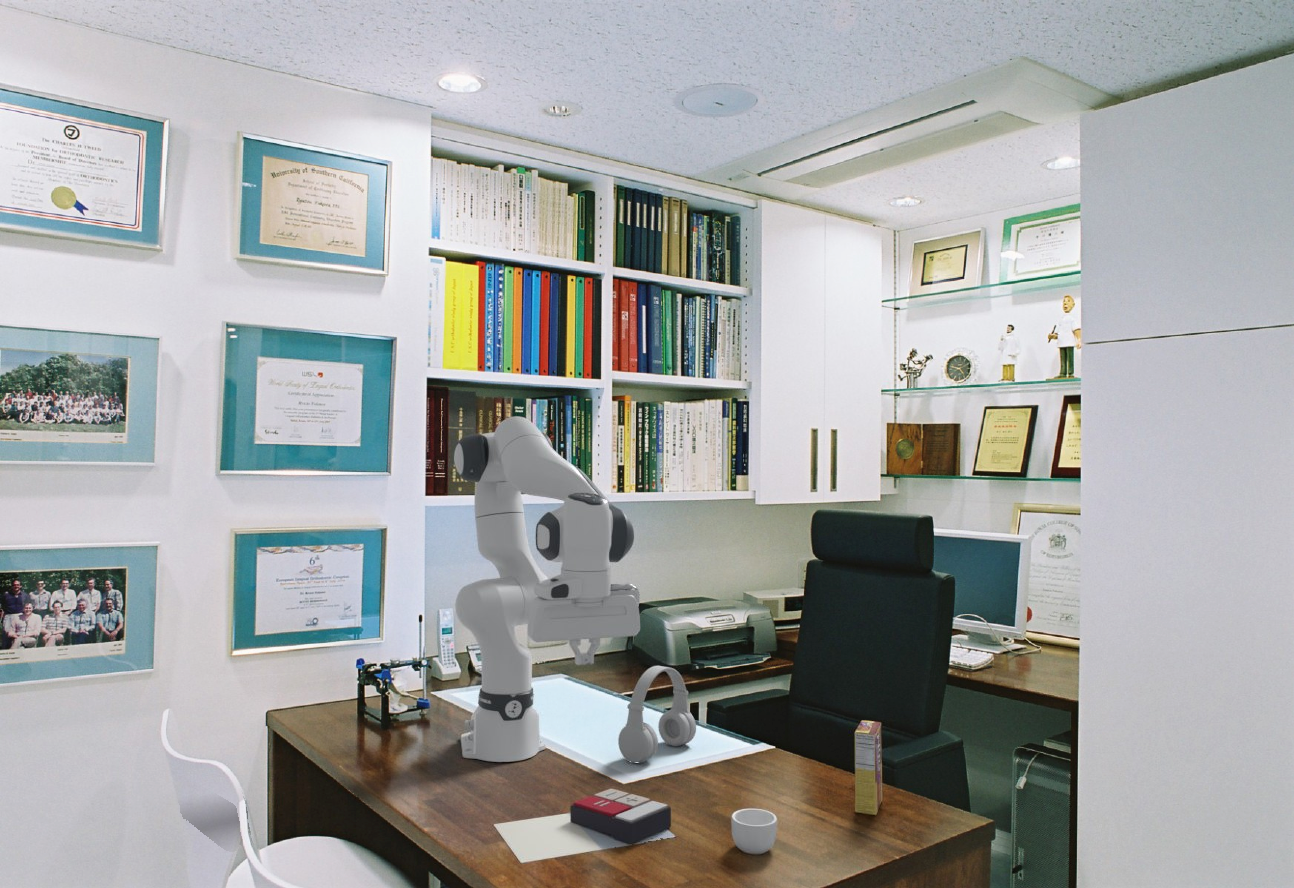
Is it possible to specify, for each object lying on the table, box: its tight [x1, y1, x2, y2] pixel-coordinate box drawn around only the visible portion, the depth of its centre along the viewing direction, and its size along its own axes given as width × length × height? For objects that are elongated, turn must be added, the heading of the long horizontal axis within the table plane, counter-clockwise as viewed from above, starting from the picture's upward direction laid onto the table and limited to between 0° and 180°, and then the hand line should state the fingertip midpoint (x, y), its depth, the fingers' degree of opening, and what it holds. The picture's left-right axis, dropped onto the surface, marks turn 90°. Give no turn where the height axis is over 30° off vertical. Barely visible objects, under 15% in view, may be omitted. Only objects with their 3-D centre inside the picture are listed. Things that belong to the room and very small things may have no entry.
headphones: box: [617, 665, 697, 763], centre depth 206 cm, size 20×8×19 cm, turn 144°
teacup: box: [730, 808, 778, 855], centre depth 156 cm, size 10×8×5 cm
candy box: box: [854, 720, 883, 816], centre depth 176 cm, size 9×4×15 cm, turn 158°
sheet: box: [493, 812, 676, 864], centre depth 161 cm, size 17×28×1 cm, turn 115°
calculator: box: [569, 788, 672, 845], centre depth 164 cm, size 11×4×15 cm
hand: (584, 664), depth 161 cm, fingers closed
